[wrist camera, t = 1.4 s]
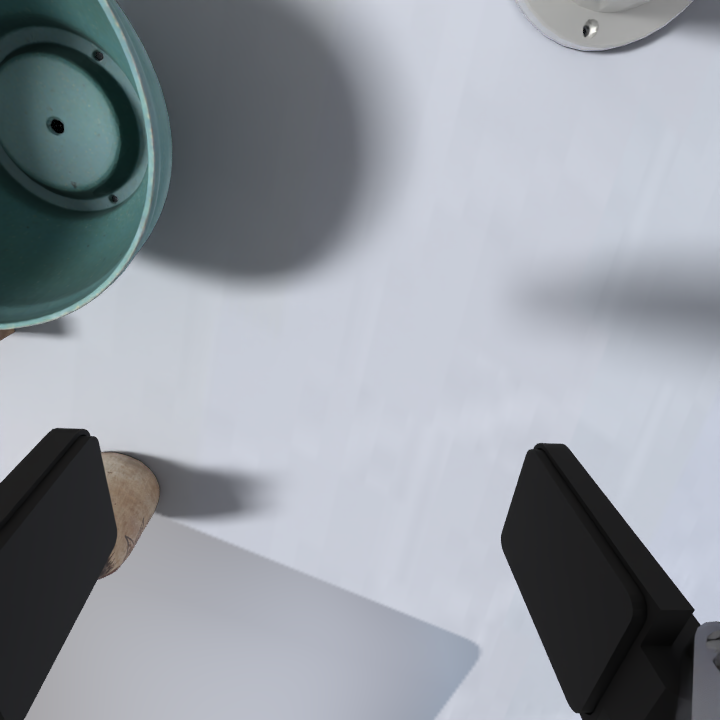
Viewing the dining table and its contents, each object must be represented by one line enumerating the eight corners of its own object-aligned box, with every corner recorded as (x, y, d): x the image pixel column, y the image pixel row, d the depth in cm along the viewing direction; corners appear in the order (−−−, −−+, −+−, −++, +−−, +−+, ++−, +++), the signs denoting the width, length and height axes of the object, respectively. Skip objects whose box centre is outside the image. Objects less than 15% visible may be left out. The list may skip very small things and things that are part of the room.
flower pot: (195, 297, 30) (133, 369, 20) (-80, 227, 27) (-310, 274, 17) (239, 14, 23) (180, -81, 14) (-115, -120, 20) (-516, -366, 11)
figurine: (53, 492, 36) (-63, 641, 25) (94, 434, 34) (-13, 569, 23) (135, 530, 38) (61, 681, 27) (178, 478, 36) (117, 618, 25)
